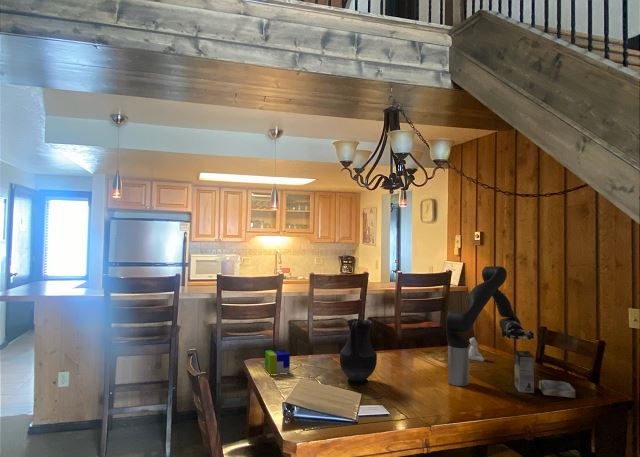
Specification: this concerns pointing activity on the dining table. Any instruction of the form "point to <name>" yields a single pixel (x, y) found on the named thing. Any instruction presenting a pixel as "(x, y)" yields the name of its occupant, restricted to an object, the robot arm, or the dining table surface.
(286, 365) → the puzzle toy
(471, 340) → the seated beast figurine
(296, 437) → the dining table surface
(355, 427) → the dining table surface
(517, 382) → the coffee box
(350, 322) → the pitcher
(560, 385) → the plinth
